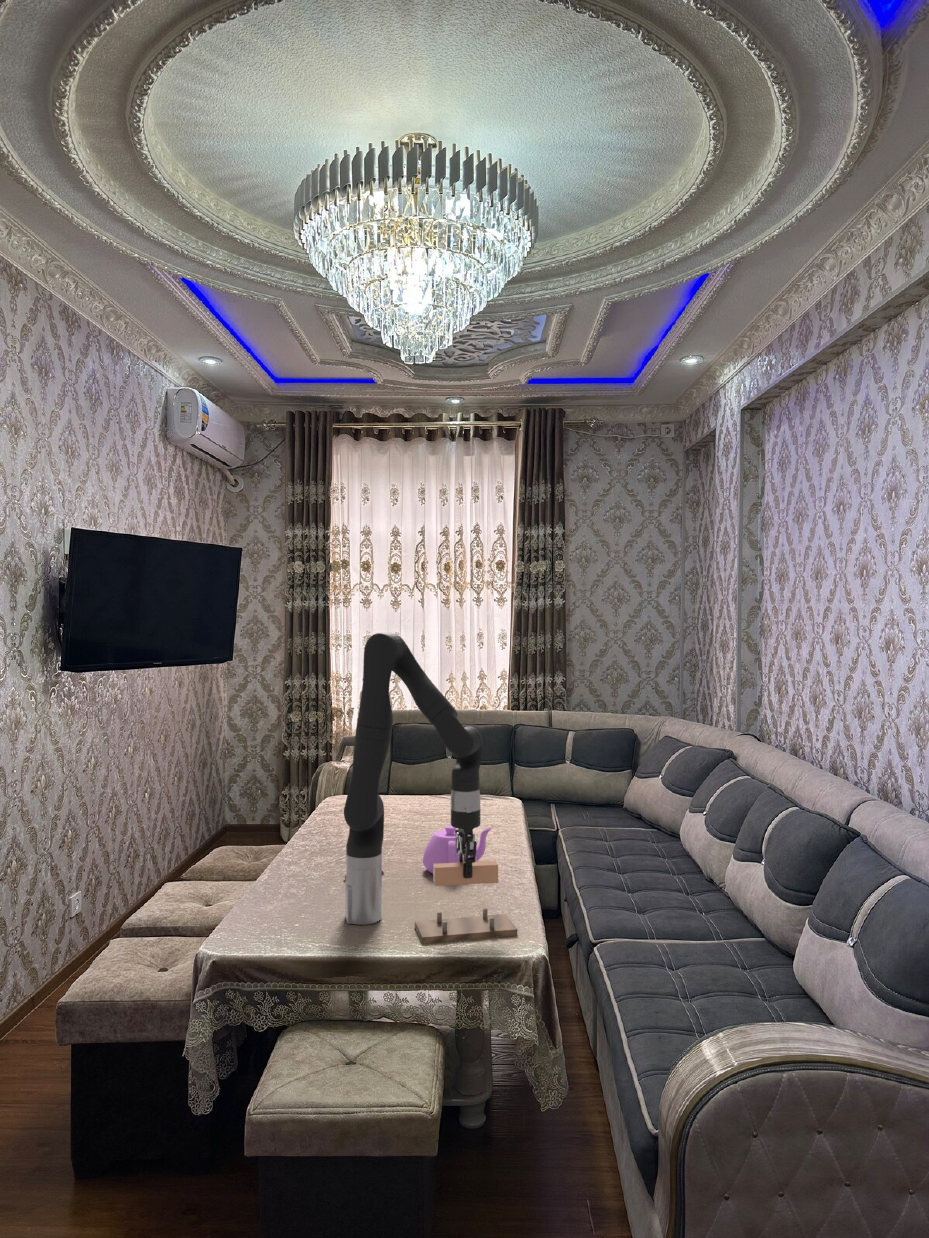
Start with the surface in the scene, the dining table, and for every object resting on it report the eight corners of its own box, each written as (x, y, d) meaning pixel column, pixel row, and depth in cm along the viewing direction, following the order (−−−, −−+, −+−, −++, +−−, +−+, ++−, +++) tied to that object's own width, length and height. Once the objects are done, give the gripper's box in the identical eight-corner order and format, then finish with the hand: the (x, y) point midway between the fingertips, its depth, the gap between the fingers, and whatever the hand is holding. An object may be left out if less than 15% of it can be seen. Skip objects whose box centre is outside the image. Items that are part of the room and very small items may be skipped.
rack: (422, 943, 205) (422, 926, 205) (414, 926, 215) (414, 911, 215) (517, 935, 210) (517, 919, 210) (505, 919, 221) (505, 904, 221)
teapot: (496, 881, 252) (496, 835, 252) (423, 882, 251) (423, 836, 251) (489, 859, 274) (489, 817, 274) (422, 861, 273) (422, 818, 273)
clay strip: (434, 885, 210) (434, 867, 210) (433, 881, 213) (433, 863, 213) (498, 882, 212) (498, 864, 212) (495, 878, 216) (495, 860, 216)
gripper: (445, 801, 219) (445, 868, 219) (457, 814, 205) (457, 885, 205) (473, 800, 220) (473, 865, 221) (487, 812, 207) (487, 882, 207)
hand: (465, 874), depth 213 cm, fingers closed on clay strip, 3 cm apart
